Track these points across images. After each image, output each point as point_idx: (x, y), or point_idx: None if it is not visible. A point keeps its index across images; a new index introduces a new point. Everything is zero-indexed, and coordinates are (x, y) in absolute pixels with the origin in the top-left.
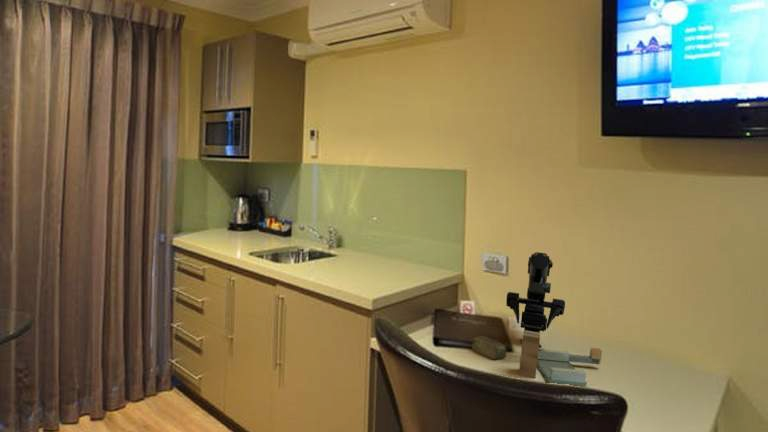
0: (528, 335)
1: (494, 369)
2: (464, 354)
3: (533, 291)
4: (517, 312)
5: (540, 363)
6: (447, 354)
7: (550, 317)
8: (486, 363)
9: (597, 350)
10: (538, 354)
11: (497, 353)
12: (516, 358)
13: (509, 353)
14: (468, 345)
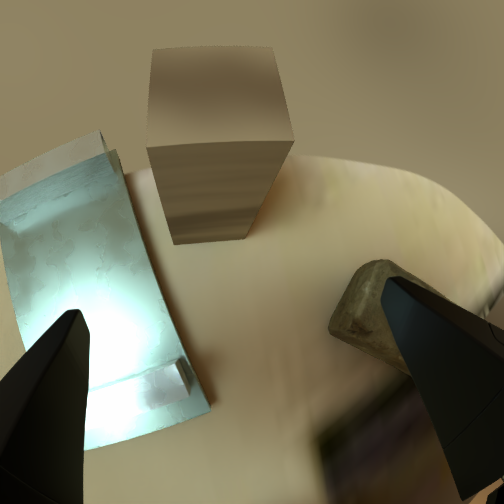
0: (235, 50)
1: (329, 180)
2: (447, 262)
3: None
4: (476, 324)
5: (158, 308)
6: (473, 228)
7: (7, 392)
8: (370, 222)
9: None
10: (176, 362)
11: (363, 266)
12: (281, 364)
13: (321, 403)
14: None
